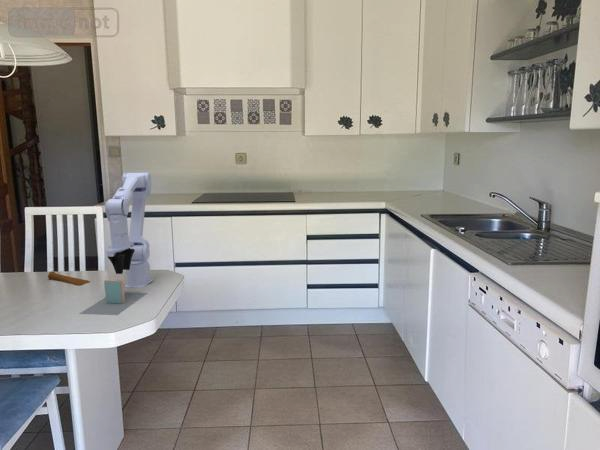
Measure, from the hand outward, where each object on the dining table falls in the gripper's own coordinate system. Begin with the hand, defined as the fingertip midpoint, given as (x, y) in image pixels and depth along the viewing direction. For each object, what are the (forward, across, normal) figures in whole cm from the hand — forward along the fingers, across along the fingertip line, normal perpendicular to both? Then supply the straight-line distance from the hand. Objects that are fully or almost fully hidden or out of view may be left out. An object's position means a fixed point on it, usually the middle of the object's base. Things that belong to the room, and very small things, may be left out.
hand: (122, 271), depth 158 cm
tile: (+9, +6, 0) cm, 11 cm away
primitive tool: (+10, -17, -33) cm, 38 cm away
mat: (+9, +6, 0) cm, 11 cm away
